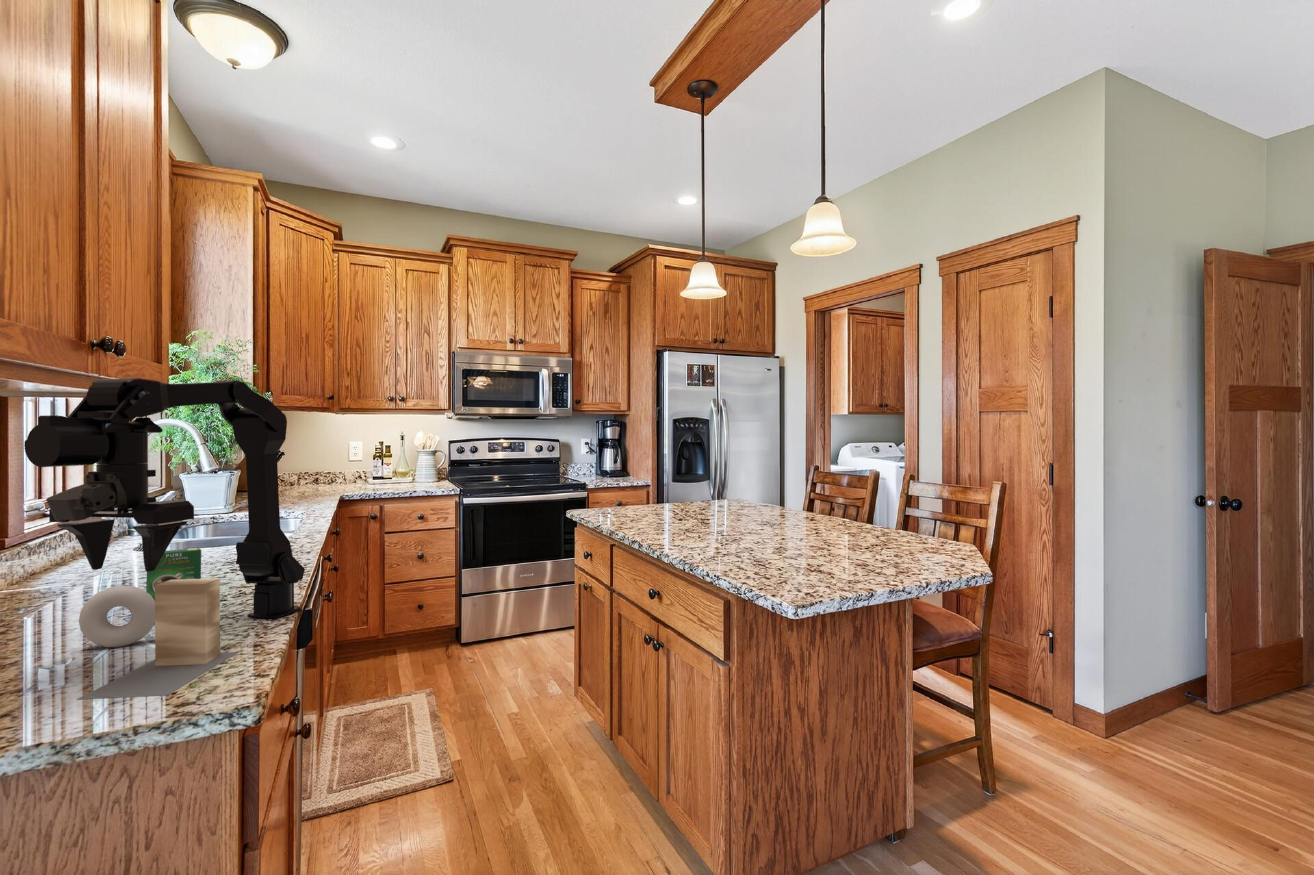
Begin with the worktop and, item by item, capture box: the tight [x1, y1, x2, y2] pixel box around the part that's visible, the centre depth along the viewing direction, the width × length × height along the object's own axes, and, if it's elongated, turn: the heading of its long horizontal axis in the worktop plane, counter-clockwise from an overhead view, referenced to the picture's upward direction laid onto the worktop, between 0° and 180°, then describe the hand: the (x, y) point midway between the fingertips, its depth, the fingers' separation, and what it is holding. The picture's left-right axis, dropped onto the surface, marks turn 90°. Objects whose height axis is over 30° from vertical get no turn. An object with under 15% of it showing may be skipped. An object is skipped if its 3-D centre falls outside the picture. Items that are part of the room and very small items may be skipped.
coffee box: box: [145, 547, 202, 600], centre depth 114 cm, size 8×3×13 cm, turn 133°
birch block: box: [154, 577, 221, 666], centre depth 92 cm, size 4×7×12 cm, turn 96°
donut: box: [78, 584, 155, 648], centre depth 99 cm, size 10×3×10 cm, turn 114°
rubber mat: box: [76, 651, 239, 701], centre depth 87 cm, size 16×11×1 cm
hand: (123, 570), depth 89 cm, fingers open, 9 cm apart
